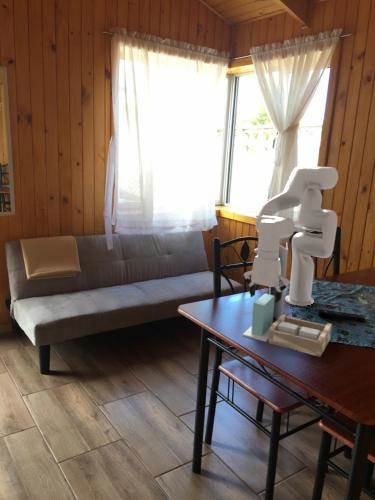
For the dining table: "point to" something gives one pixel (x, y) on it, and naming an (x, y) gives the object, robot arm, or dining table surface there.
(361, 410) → the dining table surface
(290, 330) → the offcut
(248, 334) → the mat
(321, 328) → the crate
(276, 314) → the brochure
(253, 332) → the teal rectangular block
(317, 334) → the offcut
